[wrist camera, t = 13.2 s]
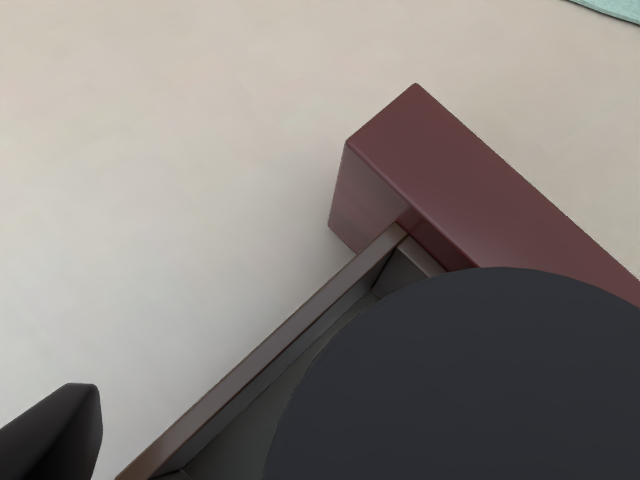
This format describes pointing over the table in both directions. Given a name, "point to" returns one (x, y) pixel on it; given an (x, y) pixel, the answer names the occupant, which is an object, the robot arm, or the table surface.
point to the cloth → (615, 8)
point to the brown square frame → (401, 249)
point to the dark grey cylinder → (472, 386)
